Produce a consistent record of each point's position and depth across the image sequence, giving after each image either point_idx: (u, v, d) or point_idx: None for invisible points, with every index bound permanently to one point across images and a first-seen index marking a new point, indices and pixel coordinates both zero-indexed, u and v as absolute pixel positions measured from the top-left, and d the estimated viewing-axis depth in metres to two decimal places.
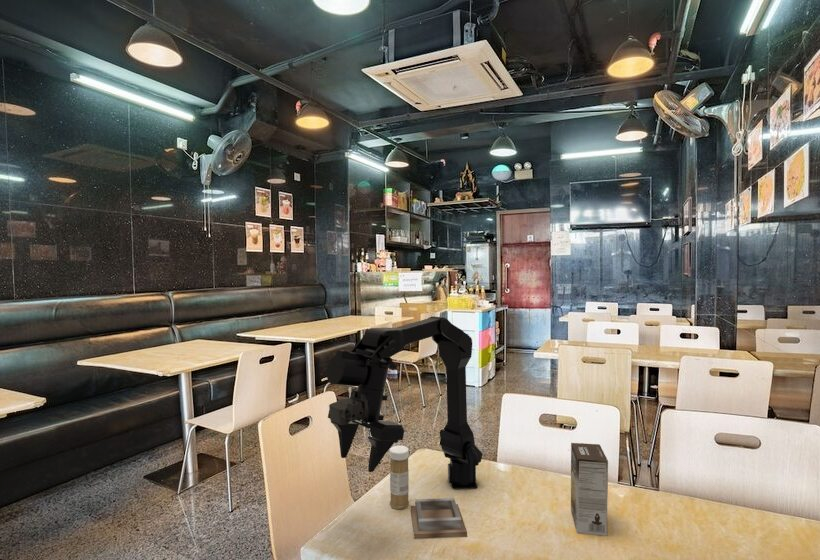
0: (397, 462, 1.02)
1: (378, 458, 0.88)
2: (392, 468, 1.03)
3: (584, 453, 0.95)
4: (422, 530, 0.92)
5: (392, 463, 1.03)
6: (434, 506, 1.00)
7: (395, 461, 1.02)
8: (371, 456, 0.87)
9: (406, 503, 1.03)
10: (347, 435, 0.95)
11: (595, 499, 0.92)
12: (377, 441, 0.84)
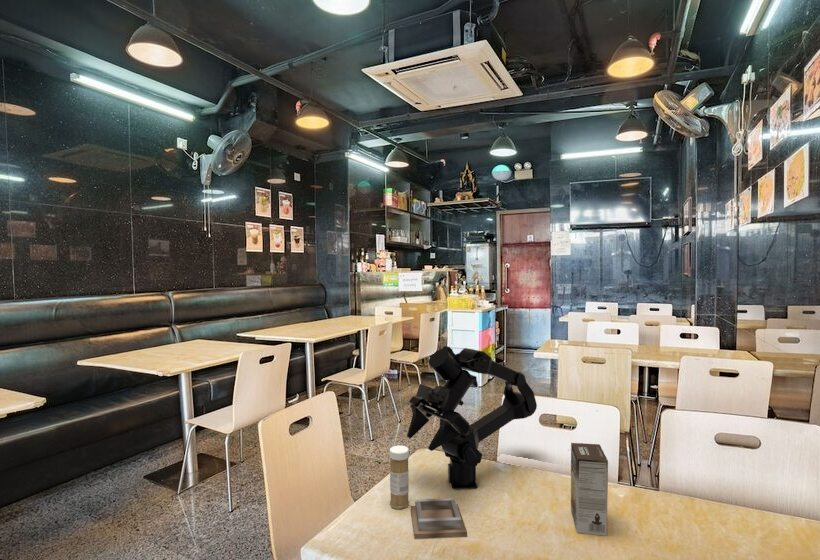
0: (397, 462, 1.02)
1: (440, 441, 1.04)
2: (392, 468, 1.03)
3: (584, 453, 0.95)
4: (422, 530, 0.92)
5: (392, 463, 1.03)
6: (434, 506, 1.00)
7: (395, 461, 1.02)
8: (436, 436, 1.03)
9: (406, 503, 1.03)
10: (418, 422, 1.13)
11: (595, 499, 0.92)
12: (447, 423, 1.02)
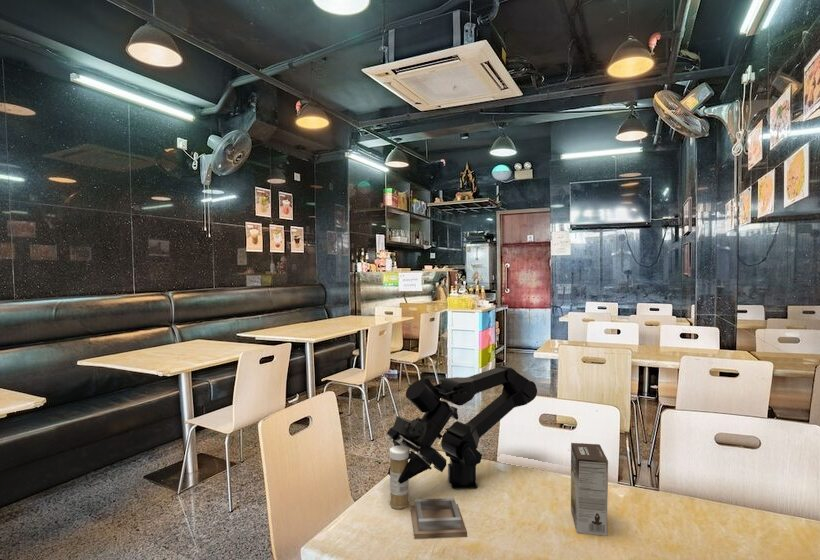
0: (397, 462, 1.02)
1: (410, 474, 1.02)
2: (392, 468, 1.03)
3: (584, 453, 0.95)
4: (422, 530, 0.92)
5: (392, 463, 1.03)
6: (434, 506, 1.00)
7: (395, 461, 1.02)
8: (406, 469, 1.02)
9: (406, 503, 1.03)
10: None
11: (595, 499, 0.92)
12: (417, 456, 1.00)
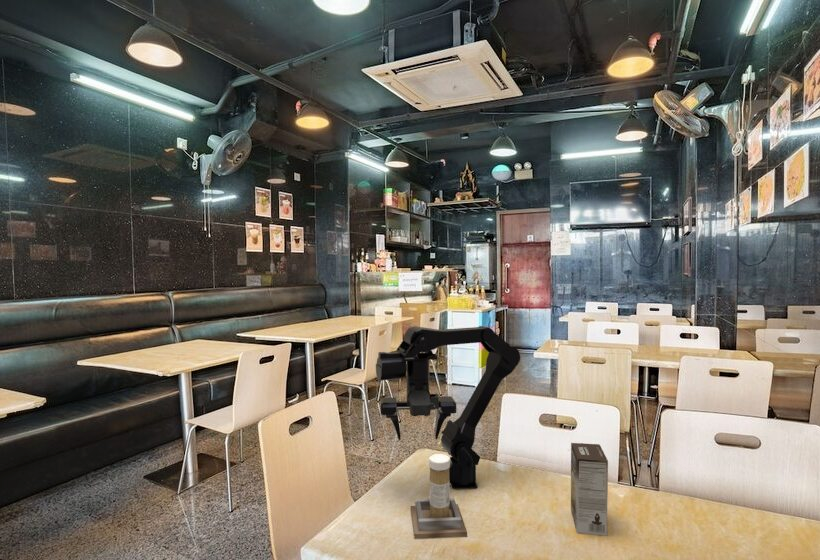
0: (444, 472, 0.95)
1: None
2: (437, 480, 0.95)
3: (584, 453, 0.95)
4: (422, 530, 0.92)
5: (437, 475, 0.95)
6: None
7: (441, 471, 0.95)
8: (439, 427, 1.10)
9: None
10: None
11: (595, 499, 0.92)
12: (450, 415, 1.09)
